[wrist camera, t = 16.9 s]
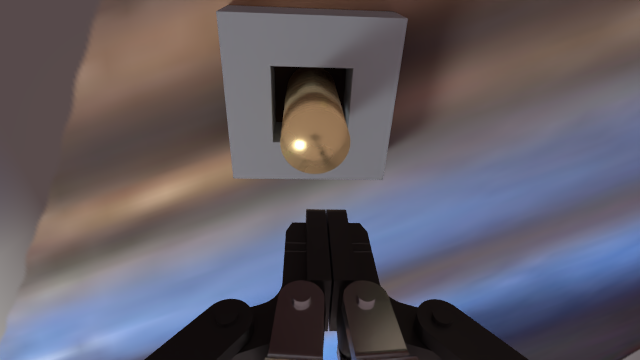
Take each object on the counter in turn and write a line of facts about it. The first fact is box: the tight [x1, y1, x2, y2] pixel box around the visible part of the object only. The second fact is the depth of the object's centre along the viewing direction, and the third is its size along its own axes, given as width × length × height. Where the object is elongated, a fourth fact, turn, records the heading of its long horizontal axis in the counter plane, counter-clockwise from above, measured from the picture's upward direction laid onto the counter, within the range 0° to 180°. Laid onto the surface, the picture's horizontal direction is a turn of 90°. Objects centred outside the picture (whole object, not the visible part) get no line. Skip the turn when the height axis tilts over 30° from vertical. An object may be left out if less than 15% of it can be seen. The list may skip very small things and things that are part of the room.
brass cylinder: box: [280, 67, 350, 174], centre depth 24 cm, size 4×4×10 cm
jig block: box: [216, 5, 408, 180], centre depth 27 cm, size 12×12×4 cm
